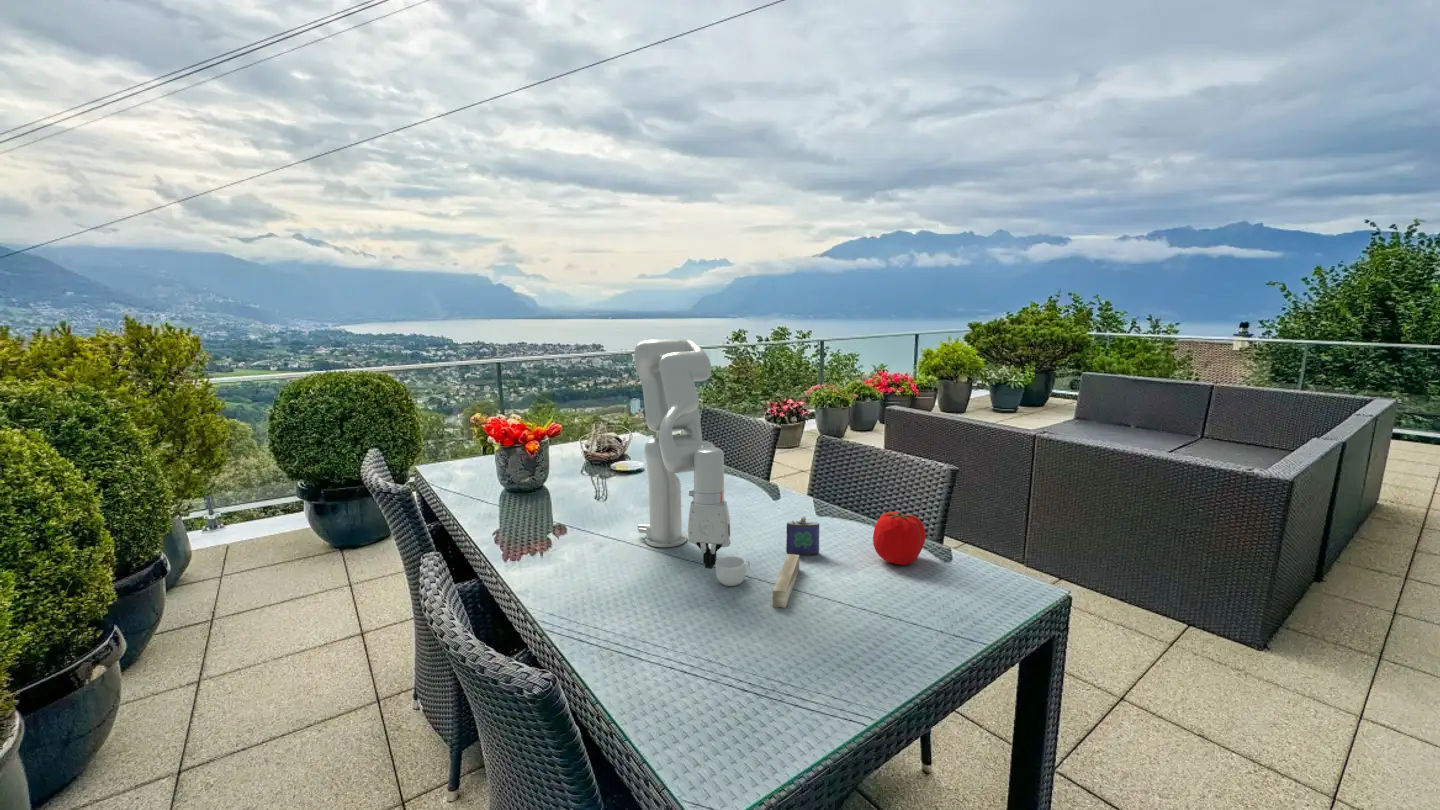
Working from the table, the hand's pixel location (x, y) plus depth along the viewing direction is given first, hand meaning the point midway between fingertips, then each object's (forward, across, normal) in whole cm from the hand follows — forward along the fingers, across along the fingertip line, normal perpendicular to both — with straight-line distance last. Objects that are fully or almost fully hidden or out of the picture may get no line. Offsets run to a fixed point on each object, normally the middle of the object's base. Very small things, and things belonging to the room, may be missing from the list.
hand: (709, 566), depth 148 cm
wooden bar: (+3, +20, 0) cm, 20 cm away
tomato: (+3, +46, +24) cm, 53 cm away
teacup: (+3, +6, 0) cm, 7 cm away
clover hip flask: (+3, +20, +22) cm, 30 cm away
